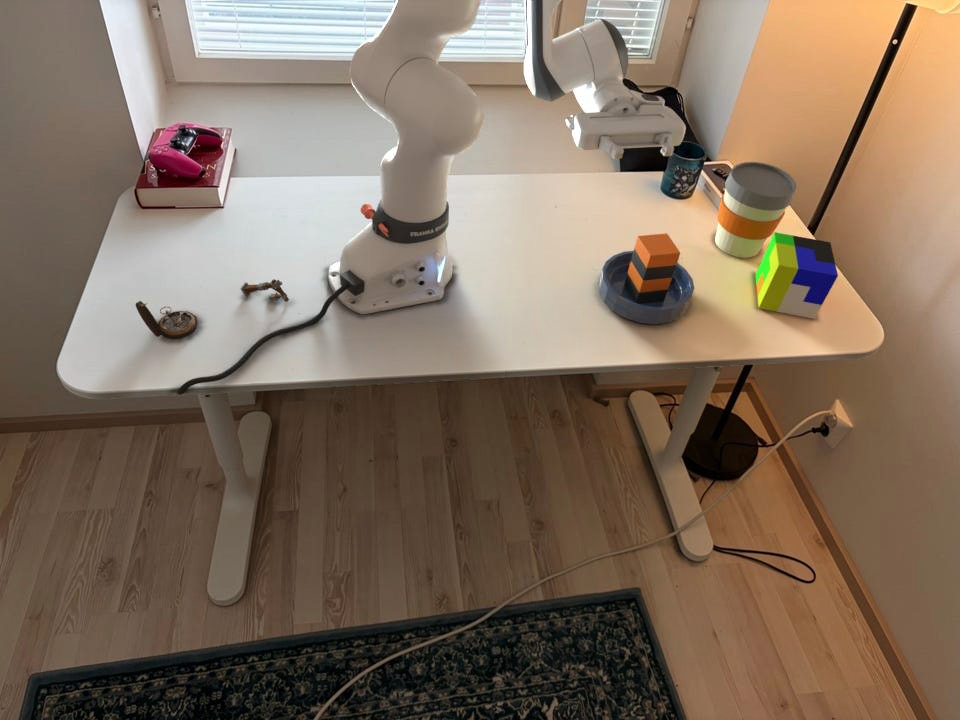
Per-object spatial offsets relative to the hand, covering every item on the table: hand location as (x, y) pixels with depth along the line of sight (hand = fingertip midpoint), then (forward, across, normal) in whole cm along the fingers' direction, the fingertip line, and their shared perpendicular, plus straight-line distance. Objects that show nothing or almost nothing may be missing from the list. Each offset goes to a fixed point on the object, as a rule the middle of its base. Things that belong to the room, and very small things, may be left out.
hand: (644, 153), depth 124 cm
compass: (+8, -81, +23) cm, 84 cm away
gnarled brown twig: (+2, -66, +23) cm, 70 cm away
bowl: (+12, 0, +22) cm, 25 cm away
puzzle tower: (+12, +1, +21) cm, 24 cm away
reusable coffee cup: (0, +26, +22) cm, 34 cm away
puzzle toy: (+16, +27, +22) cm, 39 cm away
